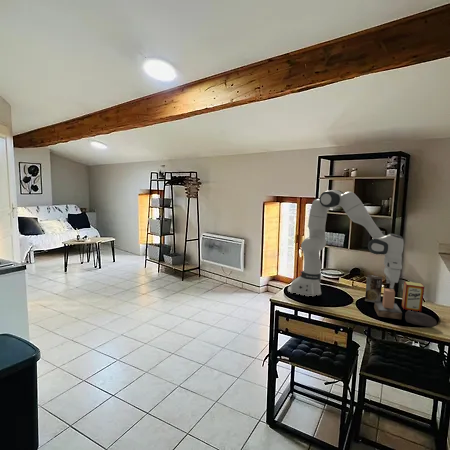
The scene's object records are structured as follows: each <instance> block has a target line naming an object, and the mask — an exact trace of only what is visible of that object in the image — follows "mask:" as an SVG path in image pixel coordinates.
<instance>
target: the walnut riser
mask: <svg viewBox="0 0 450 450" xmlns="http://www.w3.org/2000/svg"><path fill="white" fill-rule="evenodd" d="M382 302H383V301H380V302H378V301H375V303H374V302H373V303H374V305H373V308H374V311H375V312H376V315H377V317H379V318H380V317H381V318H387V319H396V320H402V318H403V317H402V316H403V312H402V310H401V308H400V307H399V306H398V304H397V303H394V308H393V309H391V308H384V307H383V305H382Z"/></svg>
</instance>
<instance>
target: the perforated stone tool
mask: <svg viewBox="0 0 450 450" xmlns="http://www.w3.org/2000/svg"><path fill="white" fill-rule="evenodd" d="M404 314H405V316H404V319H405V321H406V323H408V324H412V325H416V326H421V327H428V328H432V327H435V326H436V325H438V324H437V323H438V322H437V320H436V319H435V318H434V317H433V316H431V315H429V314H426V313H423V312H418V311H411V310H406V312H405V313H404Z"/></svg>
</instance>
